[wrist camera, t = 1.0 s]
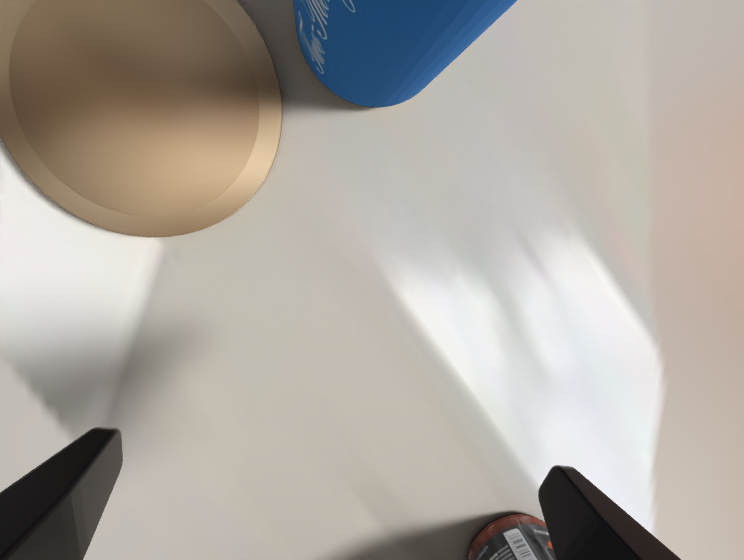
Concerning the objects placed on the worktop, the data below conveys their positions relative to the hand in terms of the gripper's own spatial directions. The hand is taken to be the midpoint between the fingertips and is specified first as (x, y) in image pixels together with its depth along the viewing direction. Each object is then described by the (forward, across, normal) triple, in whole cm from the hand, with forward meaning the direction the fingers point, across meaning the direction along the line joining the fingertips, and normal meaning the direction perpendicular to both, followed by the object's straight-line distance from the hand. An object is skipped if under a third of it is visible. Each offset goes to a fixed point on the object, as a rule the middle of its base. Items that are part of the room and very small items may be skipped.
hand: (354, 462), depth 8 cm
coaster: (+13, +9, -4) cm, 16 cm away
